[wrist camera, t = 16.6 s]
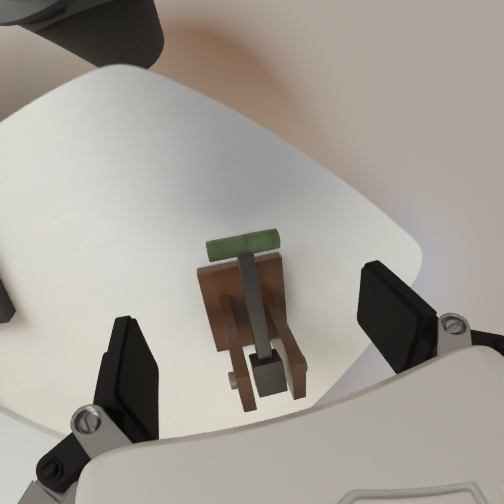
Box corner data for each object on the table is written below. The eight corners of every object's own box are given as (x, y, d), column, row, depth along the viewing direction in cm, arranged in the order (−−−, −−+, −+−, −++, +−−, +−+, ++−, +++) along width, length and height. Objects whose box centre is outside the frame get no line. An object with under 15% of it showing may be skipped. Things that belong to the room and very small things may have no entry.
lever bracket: (196, 268, 28) (204, 355, 17) (278, 252, 29) (327, 326, 18) (216, 345, 32) (232, 432, 22) (285, 329, 33) (322, 409, 23)
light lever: (205, 241, 21) (205, 242, 19) (272, 228, 22) (279, 228, 20) (238, 387, 22) (241, 402, 20) (296, 372, 23) (305, 386, 21)
